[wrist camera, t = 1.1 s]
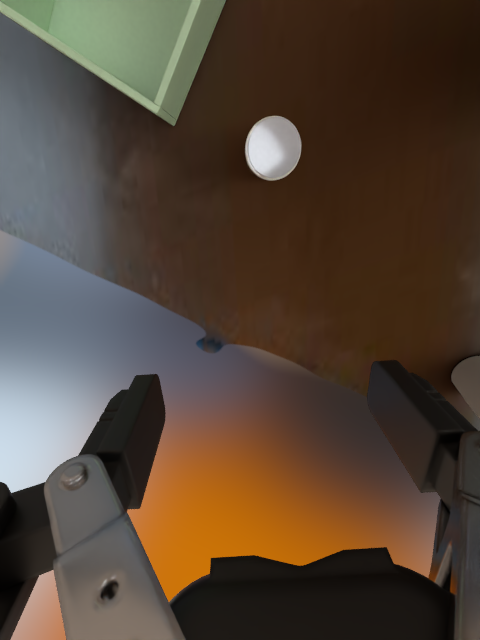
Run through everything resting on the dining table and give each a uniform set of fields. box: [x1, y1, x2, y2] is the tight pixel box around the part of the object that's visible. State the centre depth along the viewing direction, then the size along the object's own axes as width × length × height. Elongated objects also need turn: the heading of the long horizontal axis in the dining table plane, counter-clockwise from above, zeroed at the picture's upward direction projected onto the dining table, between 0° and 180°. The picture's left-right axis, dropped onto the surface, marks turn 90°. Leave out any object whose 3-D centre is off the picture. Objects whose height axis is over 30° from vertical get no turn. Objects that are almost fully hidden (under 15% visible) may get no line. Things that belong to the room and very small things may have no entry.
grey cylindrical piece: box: [245, 116, 301, 180], centre depth 27 cm, size 5×5×8 cm
